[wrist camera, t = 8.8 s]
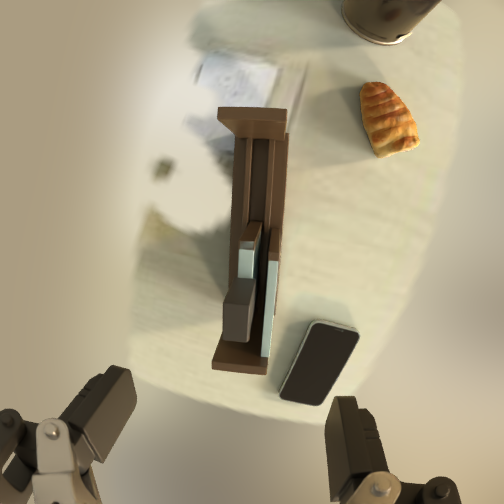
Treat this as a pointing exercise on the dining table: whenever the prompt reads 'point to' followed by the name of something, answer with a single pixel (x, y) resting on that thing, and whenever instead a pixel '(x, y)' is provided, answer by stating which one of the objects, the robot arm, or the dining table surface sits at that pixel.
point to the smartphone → (318, 362)
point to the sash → (243, 287)
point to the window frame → (256, 209)
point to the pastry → (387, 120)
